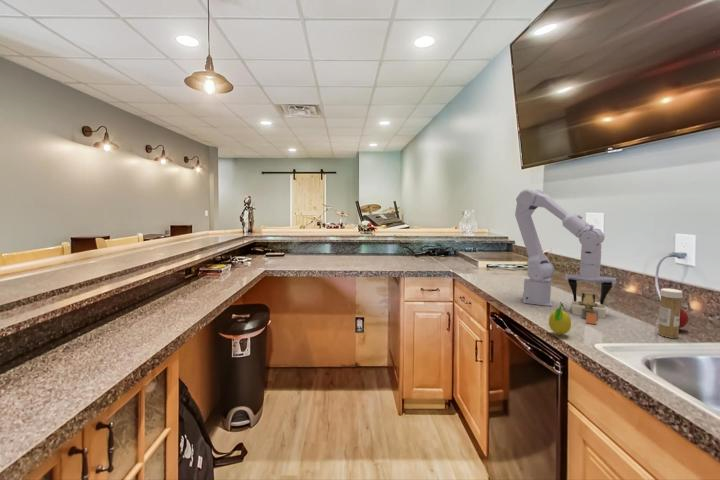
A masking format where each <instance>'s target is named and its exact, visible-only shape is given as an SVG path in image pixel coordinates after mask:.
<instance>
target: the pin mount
mask: <svg viewBox="0 0 720 480" xmlns="http://www.w3.org/2000/svg"><path fill="white" fill-rule="evenodd" d="M586 312H589V313H596V314H597V321H598V320H599V318H598V311H596V310H588V309H582V315H581V319H585V320H586Z"/></svg>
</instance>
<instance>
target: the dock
mask: <svg viewBox="0 0 720 480" xmlns="http://www.w3.org/2000/svg"><path fill="white" fill-rule="evenodd" d="M582 309H585V306H581V299H580V300H579V299H577V300H576V302H575V301H574V299H571V312H572V314H573V315H576V316H582ZM592 310H596V311H598V319H606V308H605V306H604V304H603V305H602V304H600V301H597V302H596V301H595V307H593V309H592Z"/></svg>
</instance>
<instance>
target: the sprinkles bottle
mask: <svg viewBox="0 0 720 480" xmlns="http://www.w3.org/2000/svg"><path fill="white" fill-rule="evenodd" d="M659 295H660V301H659V303H660V304H659V310H658V311H659V313H658V331H657V334H658V335H659V336H661V337H664V336H665V337H664V338H668V337H669V338H670V339H678V338H679V337H680V335H679V329H680V328H679V322H680V308H681V303H682V302H681V300H682V298H683V291H682V290H680V289H676V288H665V287H664V288H661V289H660V293H659Z"/></svg>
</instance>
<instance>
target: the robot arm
mask: <svg viewBox="0 0 720 480" xmlns="http://www.w3.org/2000/svg"><path fill="white" fill-rule="evenodd" d="M515 201H516V206H515V211H514V212H515V213H514V216H515V219H516V223H517V225H518V228H519V231H520V236H521V238H522V241H523V244H524V247H525V250H526V253H527V257H528V259H527V261H526V265H527V270H526V271H527V276H528V277H529V278H525V279H524V280H523V293H522V302H523V304H530V305H539V306H545V307H546V306H547V307H552V300H551V296H552V295H551V293H552V276H553V275H554V274H555V267H554V265H553V264H552V263H551V262H550V260H549V257H548V256H547V255H545V254H544V251H543V247H542V245H541V242H540V239H539V236H538V233H537V230H536V226H535V224H534V220H533V218H532V215H533V214H534V212H535V211H536V209H538V208H544V209H545V210H547V211H548V212H550V213H551V214H553V216H555V217H556V218H558V219H559V220H560V221H561V223H562V226H563V227H564V228H565V230H567V231H569V232H570V233H571V234H572V235H574V236H575V237H576V238H578V241H579V243H580V244H581V249H580V263H579V264H580V266H579V274H574V273H573V274H570V273H569V274H568V273H564V281H568V282H567V283H568V285H569V287H570V288H571V289H570V290H571V291H572V295H573V296H572V297H573V300H574V301H575V302H576V300H578V299H577V287H578V284H577V283H578V282H585V283H586V282H587V283H597V284H598V283H599V284H600V288H601V290H600V298H599V303H600V304H602V305H604V303H605V300H606V297H607V295H608V294H609V292H610V290H612V287H613V285H615V286H616V285H617V278H616V277H610V276H601V264H602V263H601V261H602V243H603V242H604V240H605V234H604V232H603V231H602V230H601V229H600V228H595V225H593V224H589V222H587V221H586V220H585V219H583V218H584V217H583V215H581V214H576V213H569V211H567V210H566V209H565V208H563V207H562V205H560V204H559V203H557V202H556V201H555V200H554V199H553V198H552V197H551V196H550V195H548V194H546V193H545V192H544V191H542V190H540V189H527V188H525V189H522V191H520V192H519V194H518V195H517V197H516V198H515Z"/></svg>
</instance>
